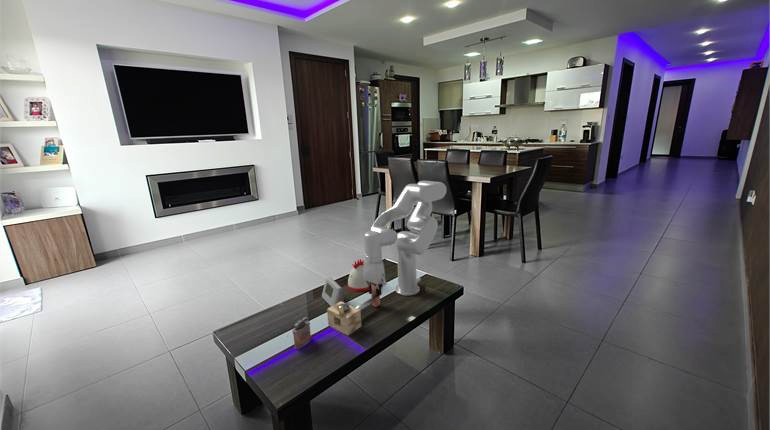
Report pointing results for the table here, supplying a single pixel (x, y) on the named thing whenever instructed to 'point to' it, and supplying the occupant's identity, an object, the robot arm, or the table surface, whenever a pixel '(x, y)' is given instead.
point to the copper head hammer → (371, 299)
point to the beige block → (344, 319)
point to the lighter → (301, 333)
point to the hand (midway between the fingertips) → (375, 294)
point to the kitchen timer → (357, 278)
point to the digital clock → (332, 292)
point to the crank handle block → (342, 309)
